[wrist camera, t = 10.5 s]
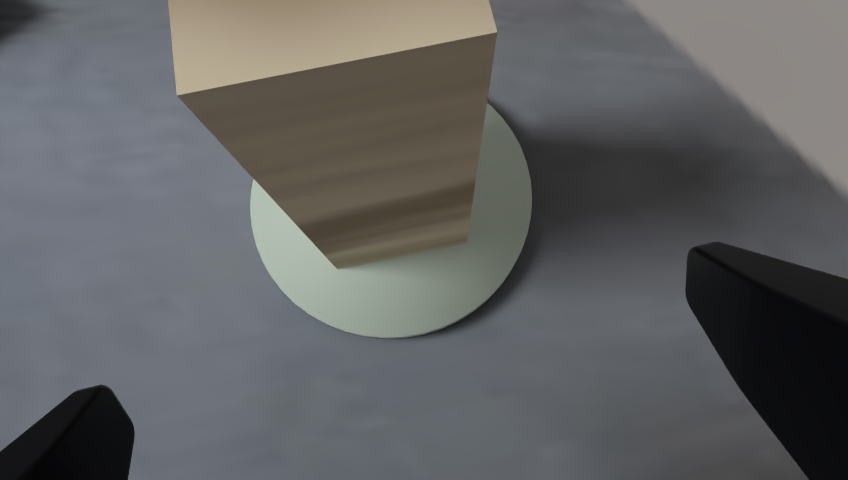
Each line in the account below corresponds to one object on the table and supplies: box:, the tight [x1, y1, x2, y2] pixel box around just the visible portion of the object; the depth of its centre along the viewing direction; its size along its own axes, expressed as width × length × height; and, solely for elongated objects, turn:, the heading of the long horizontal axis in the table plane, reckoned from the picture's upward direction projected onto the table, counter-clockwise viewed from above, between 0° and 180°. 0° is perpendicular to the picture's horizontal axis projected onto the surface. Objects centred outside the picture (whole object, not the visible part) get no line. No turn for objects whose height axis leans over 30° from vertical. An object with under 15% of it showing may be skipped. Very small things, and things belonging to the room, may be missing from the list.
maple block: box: [168, 0, 497, 269], centre depth 15 cm, size 5×5×13 cm
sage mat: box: [250, 103, 532, 339], centre depth 22 cm, size 11×11×1 cm
